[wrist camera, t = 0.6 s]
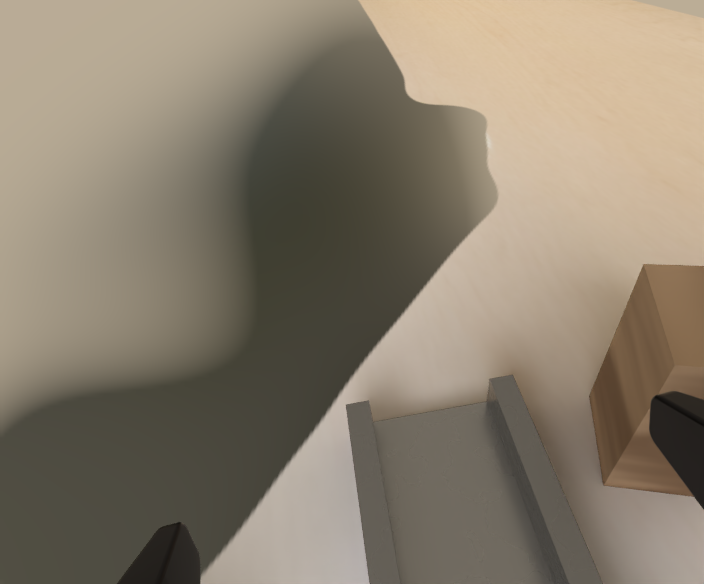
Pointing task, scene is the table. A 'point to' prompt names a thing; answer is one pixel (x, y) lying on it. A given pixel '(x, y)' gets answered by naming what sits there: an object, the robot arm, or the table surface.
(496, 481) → the gray rectangular tray
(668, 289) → the wooden tall block
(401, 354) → the table surface
